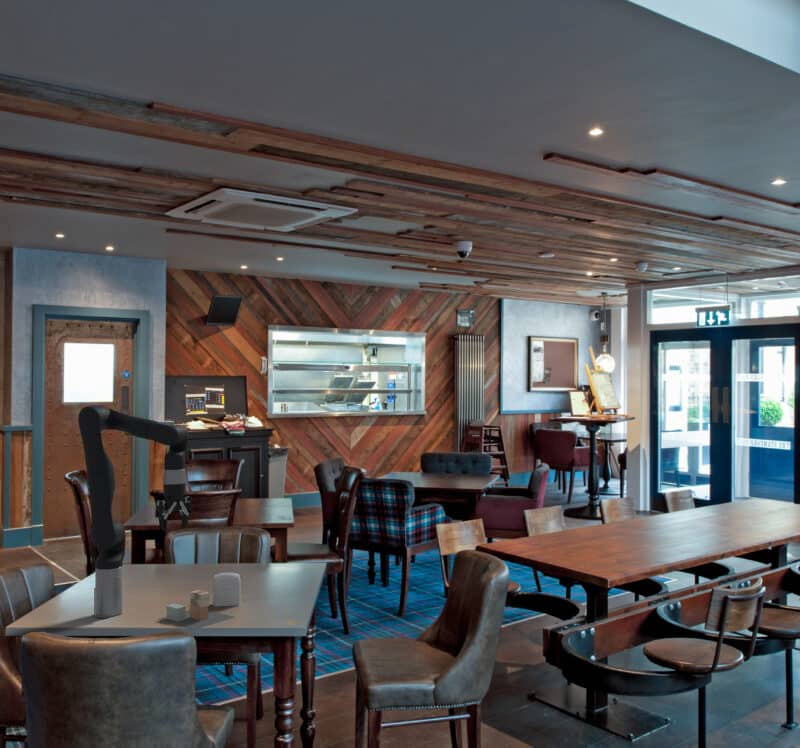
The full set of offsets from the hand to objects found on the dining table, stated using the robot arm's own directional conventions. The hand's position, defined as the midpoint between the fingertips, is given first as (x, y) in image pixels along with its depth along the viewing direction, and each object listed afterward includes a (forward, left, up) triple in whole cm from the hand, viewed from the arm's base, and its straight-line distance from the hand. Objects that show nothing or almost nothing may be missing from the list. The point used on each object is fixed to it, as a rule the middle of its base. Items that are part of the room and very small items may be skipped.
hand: (174, 528), depth 279 cm
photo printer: (+1, +23, -32) cm, 40 cm away
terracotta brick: (+7, +6, -32) cm, 33 cm away
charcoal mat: (+6, +5, -32) cm, 33 cm away
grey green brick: (+1, 0, -32) cm, 32 cm away
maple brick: (+7, +6, -27) cm, 28 cm away
